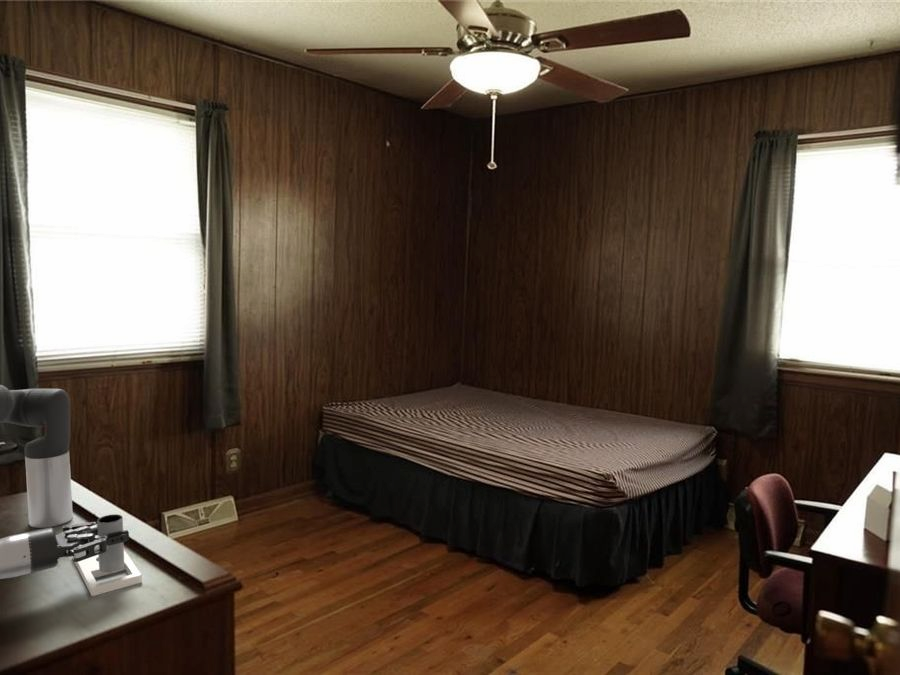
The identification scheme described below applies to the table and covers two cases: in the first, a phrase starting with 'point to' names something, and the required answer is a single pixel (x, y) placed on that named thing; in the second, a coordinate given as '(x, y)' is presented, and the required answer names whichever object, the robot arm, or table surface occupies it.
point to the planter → (114, 553)
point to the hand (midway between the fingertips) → (124, 530)
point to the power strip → (91, 571)
